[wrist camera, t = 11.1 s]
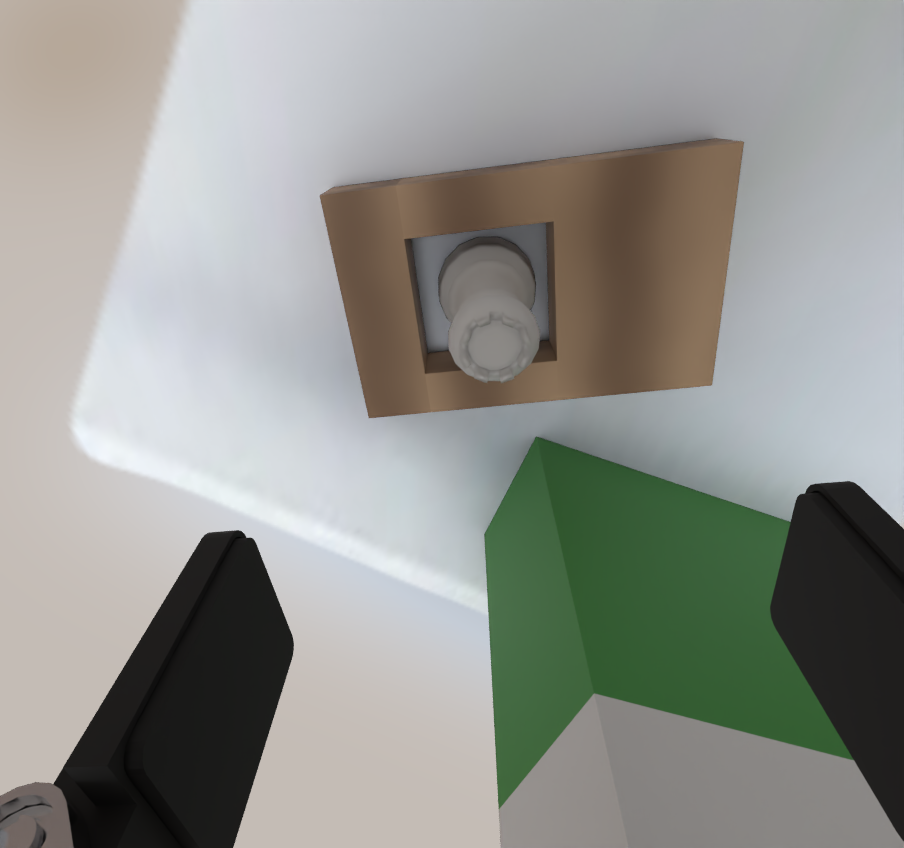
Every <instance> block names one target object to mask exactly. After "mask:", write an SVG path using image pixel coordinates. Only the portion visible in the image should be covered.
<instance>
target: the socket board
mask: <svg viewBox="0 0 904 848" xmlns="http://www.w3.org/2000/svg"><path fill="white" fill-rule="evenodd" d="M743 145H744V142H742V141H733V140H725V139H717V138H716V139H709V140H701V141H693V142H685V143H677V144H669V145H661V146H654V147H646V148H638V149H630V150H622V151H614V152H606V153H599V154H591V155H583V156H575V157H567V158H559V159H551V160H544V161H536V162H528V163H520V164H512V165H504V166H496V167H489V168H481V169H473V170H465V171H457V172H449V173H441V174H434V175H426V176H418V177H410V178H402V179H394V180H386V181H379V182H371V183H363V184H355V185H347V186H339V187H333V188H331V189H329V190H328V191H326V192H324V193H323V194H321V195H320V199H321V204H322V208H323V213H324V217H325V222H326V226H327V231H328V235H329V240H330V244H331V249H332V253H333V258H334V262H335V267H336V271H337V276H338V281H339V285H340V290H341V294H342V299H343V303H344V308H345V312H346V317H347V321H348V326H349V330H350V335H351V339H352V344H353V348H354V353H355V357H356V362H357V366H358V371H359V375H360V380H361V384H362V389H363V394H364V398H365V403H366V407H367V412H368V416H369V418H376V417H386V416H396V415H407V414H417V413H428V412H438V411H449V410H459V409H470V408H480V407H491V406H501V405H511V404H522V403H532V402H543V401H553V400H564V399H574V398H585V397H595V396H606V395H616V394H627V393H637V392H647V391H658V390H668V389H679V388H689V387H700V386H710V385H712V381H713V373H714V366H715V358H716V350H717V343H718V335H719V328H720V320H721V312H722V305H723V297H724V289H725V282H726V274H727V267H728V259H729V251H730V244H731V236H732V229H733V221H734V213H735V206H736V198H737V190H738V183H739V175H740V168H741V160H742V152H743ZM544 222H546V245H547V277H548V309H549V340H548V341H539V349H538V351H537V353H536V355H535V357H534V358H533V360H532V362H531V364H530V365H529V366H528V367H526V369H524V370H523V371H522V372H520V373H519V374H518V375H516V376H514V379H512V380H509V381H507V382H504V383H501V381H487V383H484V382H482V381H479V380H477V379H474V377H472V376H469V375H467V374H466V373H465V372H464V371H463V370H462V369H461V368H460V367H459V366H457V365H456V364H455V362H454V360H453V357H452V355H451V353H450V351H441V352H432V353H428V350H427V343H426V336H425V330H424V323H423V316H422V310H421V303H420V296H419V290H418V283H417V276H416V270H415V263H414V256H413V250H412V243H411V238H418V237H426V236H435V235H443V234H452V233H460V232H468V231H477V230H485V229H494V228H502V227H510V226H519V225H527V224H536V223H544Z"/></svg>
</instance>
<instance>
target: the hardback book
mask: <svg viewBox="0 0 904 848" xmlns="http://www.w3.org/2000/svg"><path fill="white" fill-rule="evenodd" d="M790 523H791V522H788V521H785V520H783V519H780V518H777V517H774V516H771V515H768V514H765V513H762V512H759V511H756V510H753V509H750V508H747V507H744V506H741V505H738V504H735V503H732V502H729V501H726V500H723V499H720V498H717V497H714V496H711V495H708V494H705V493H702V492H699V491H696V490H693V489H690V488H687V487H684V486H682V485H679V484H676V483H673V482H670V481H667V480H664V479H661V478H658V477H655V476H652V475H649V474H646V473H643V472H640V471H637V470H634V469H631V468H628V467H625V466H622V465H619V464H616V463H613V462H610V461H607V460H604V459H601V458H598V457H595V456H592V455H589V454H586V453H583V452H581V451H578V450H575V449H572V448H569V447H566V446H563V445H560V444H557V443H554V442H551V441H548V440H545V439H542V438H539V437H536V438H535V440H534V442H533V444H532V446H531V447H530V449H529V451H528V453H527V455H526V457H525V459H524V461H523V463H522V464H521V466H520V468H519V470H518V472H517V474H516V476H515V478H514V480H513V481H512V483H511V485H510V487H509V489H508V491H507V493H506V495H505V497H504V498H503V500H502V502H501V504H500V506H499V508H498V510H497V512H496V514H495V515H494V517H493V519H492V521H491V523H490V525H489V527H488V529H487V531H486V532H485V534H484V535H485V554H486V573H487V593H488V612H489V631H490V650H491V669H492V687H493V708H494V724H495V725H494V727H495V746H496V763H497V764H496V765H497V784H498V803H499V821H500V842H501V848H904V841H903V840H902V839H901V838H900V836H899V835H898V833H897V832H896V830H895V829H894V827H893V825H892V823H891V822H890V820H889V818H888V817H887V815H886V813H885V812H884V810H883V808H882V807H881V805H880V803H879V802H878V800H877V798H876V797H875V795H874V793H873V792H872V790H871V788H870V786H869V785H868V783H867V781H866V780H865V778H864V776H863V775H862V773H861V771H860V770H859V768H858V766H857V765H856V763H855V761H854V760H853V758H852V756H851V755H850V753H849V751H848V749H847V748H846V746H845V744H844V743H843V741H842V739H841V738H840V736H839V734H838V733H837V731H836V729H835V728H834V726H833V724H832V723H831V721H830V719H829V718H828V716H827V714H826V713H825V711H824V709H823V707H822V706H821V704H820V702H819V701H818V699H817V697H816V696H815V694H814V692H813V691H812V689H811V687H810V686H809V684H808V682H807V681H806V679H805V677H804V676H803V674H802V672H801V670H800V669H799V667H798V665H797V664H796V662H795V660H794V659H793V657H792V655H791V654H790V652H789V650H788V649H787V647H786V645H785V644H784V642H783V640H782V639H781V637H780V635H779V634H778V632H777V630H776V628H775V626H774V624H773V621H772V618H771V614H770V605H771V600H772V596H773V592H774V588H775V584H776V580H777V576H778V572H779V568H780V564H781V560H782V556H783V551H784V547H785V543H786V539H787V535H788V531H789V527H790Z"/></svg>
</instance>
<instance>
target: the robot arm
mask: <svg viewBox="0 0 904 848" xmlns="http://www.w3.org/2000/svg"><path fill="white" fill-rule="evenodd" d="M770 614H771V618H772V621H773V624H774V626H775V628H776V630H777V632H778V634H779V635H780V637H781V639H782V640H783V642H784V644H785V645H786V647H787V649H788V650H789V652H790V654H791V655H792V657H793V659H794V660H795V662H796V664H797V665H798V667H799V669H800V670H801V672H802V674H803V676H804V677H805V679H806V681H807V682H808V684H809V686H810V687H811V689H812V691H813V692H814V694H815V696H816V697H817V699H818V701H819V702H820V704H821V706H822V707H823V709H824V711H825V713H826V714H827V716H828V718H829V719H830V721H831V723H832V724H833V726H834V728H835V729H836V731H837V733H838V734H839V736H840V738H841V739H842V741H843V743H844V744H845V746H846V748H847V749H848V751H849V753H850V755H851V756H852V758H853V760H854V761H855V763H856V765H857V766H858V768H859V770H860V771H861V773H862V775H863V776H864V778H865V780H866V781H867V783H868V785H869V786H870V788H871V790H872V792H873V793H874V795H875V797H876V798H877V800H878V802H879V803H880V805H881V807H882V808H883V810H884V812H885V813H886V815H887V817H888V818H889V820H890V822H891V823H892V825H893V827H894V829H895V830H896V832H897V833H898V835H899V836H900V838H901V839H902V840H903V841H904V529H903V528H902V527H901V526H900V525H899V524H898V523H897V522H896V521H895V520H894V519H893V518H892V517H891V516H890V515H889V514H888V513H887V512H885V511H884V510H883V509H882V508H881V507H880V506H879V505H878V504H877V503H876V502H875V501H874V500H873V499H872V498H871V497H870V496H869V495H868V494H867V493H866V492H865V491H864V490H863V489H862V488H861V487H860V486H858V485H857V484H855V483H854V482H850V481H846V482H833V483H821V484H813V485H810V486H809V487H808V488H807V491H806V493H805V494H800V495H799V496H798V497H797V500H796V503H795V507H794V511H793V515H792V519H791V523H790V527H789V531H788V535H787V539H786V543H785V547H784V551H783V556H782V560H781V564H780V568H779V572H778V576H777V580H776V584H775V588H774V592H773V596H772V600H771V605H770ZM293 647H294V643H293V637H292V634H291V631H290V629H289V626H288V624H287V621H286V619H285V616H284V613H283V611H282V608H281V606H280V603H279V601H278V598H277V596H276V593H275V591H274V588H273V585H272V583H271V580H270V578H269V576H268V573H267V570H266V568H265V565H264V563H263V560H262V558H261V555H260V552H259V550H258V547H257V545H256V543H255V541H254V539H252V538H246V536H245V534H244V533H243V532H242V531H238V530H237V531H224V532H212V533H207V534H206V535H204V537H203V538H202V539H201V541H200V543H199V544H198V546H197V547H196V549H195V551H194V552H193V554H192V556H191V557H190V559H189V561H188V562H187V564H186V566H185V568H184V569H183V571H182V572H181V574H180V575H179V577H178V579H177V581H176V582H175V584H174V585H173V587H172V589H171V590H170V592H169V594H168V595H167V597H166V599H165V600H164V602H163V604H162V605H161V607H160V609H159V610H158V612H157V613H156V615H155V617H154V618H153V620H152V622H151V623H150V625H149V627H148V628H147V630H146V632H145V633H144V635H143V636H142V638H141V640H140V641H139V643H138V645H137V646H136V648H135V650H134V651H133V653H132V655H131V656H130V658H129V660H128V661H127V663H126V665H125V666H124V668H123V670H122V671H121V673H120V674H119V676H118V678H117V680H116V681H115V683H114V685H113V686H112V688H111V689H110V691H109V693H108V694H107V696H106V698H105V699H104V701H103V703H102V704H101V706H100V708H99V709H98V711H97V712H96V714H95V716H94V717H93V719H92V721H91V722H90V724H89V726H88V727H87V729H86V731H85V732H84V734H83V736H82V737H81V739H80V741H79V742H78V744H77V746H76V747H75V749H74V751H73V752H72V754H71V755H70V757H69V759H68V760H67V762H66V764H65V765H64V767H63V769H62V771H61V772H60V774H59V776H58V777H57V779H56V781H55V782H54V784H51V783H39V782H35V783H32V784H27V785H24V786H20V787H17V788H15V789H13V790H11V791H9V792H7V793H5V794H3V795H1V796H0V848H233V846H234V843H235V840H236V837H237V833H238V830H239V827H240V824H241V820H242V817H243V814H244V811H245V808H246V804H247V801H248V798H249V794H250V792H251V788H252V785H253V782H254V779H255V776H256V772H257V769H258V766H259V763H260V760H261V756H262V753H263V750H264V747H265V743H266V740H267V737H268V734H269V730H270V727H271V724H272V721H273V718H274V715H275V711H276V708H277V705H278V701H279V699H280V695H281V692H282V689H283V685H284V683H285V679H286V676H287V673H288V670H289V666H290V663H291V660H292V656H293V650H294V648H293Z"/></svg>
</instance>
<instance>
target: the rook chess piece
mask: <svg viewBox="0 0 904 848" xmlns="http://www.w3.org/2000/svg"><path fill="white" fill-rule="evenodd" d="M438 287H439V302H440V304H441V306H442V309H443V311H444V313H445V315H446V318H447V319H448V320H449V321H450V322H451V323H452V324H451V326H450V329H449V331H448V348H449V351H450V353H451V355H452V357H453V360H454V362H455V364H456V365H457V366H459V367H460V368H461V369H462V370H463V371H464V372H465V373H466V374H467V375H469V376H472V377H474V379H477V380H479V381H482V382H484V383H487V381H501V383H504V382H507V381H509V380H512V379H514V376H516V375H518V374H519V373H520V372H522V371H523V370H524V369H526V367H528V366H529V365H530V364H531V362H532V360H533V358H534V357H535V355H536V353H537V351H538V349H539V340H540V330H539V327H538V324H537V321H536V318H535V315H534V314H533V313H532V312H531V311H530V310H531V308H532V306H533V304H534V301H535V289H536V282H535V275H534V273H533V270H532V267H531V264H530V261H529V259H528V258H527V257H526V255H525V254H524V253H523V252H522V251H521V250H520V249H519V248H518V247H517V246H516V245H515V244H512V243H510V242H508V241H506V240H503V239H501V238H499V237H477V238H475V239H472V240H470V241H468V242H465V243H463V244H460V245H459V246H458V247H457V248H456V249H455V250H454V251H453V252H452V253H451V254H450V255H449V256H448V257H447V258H446V259H445V262H444V264H443V267H442V269H441V272H440V274H439V277H438Z"/></svg>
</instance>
